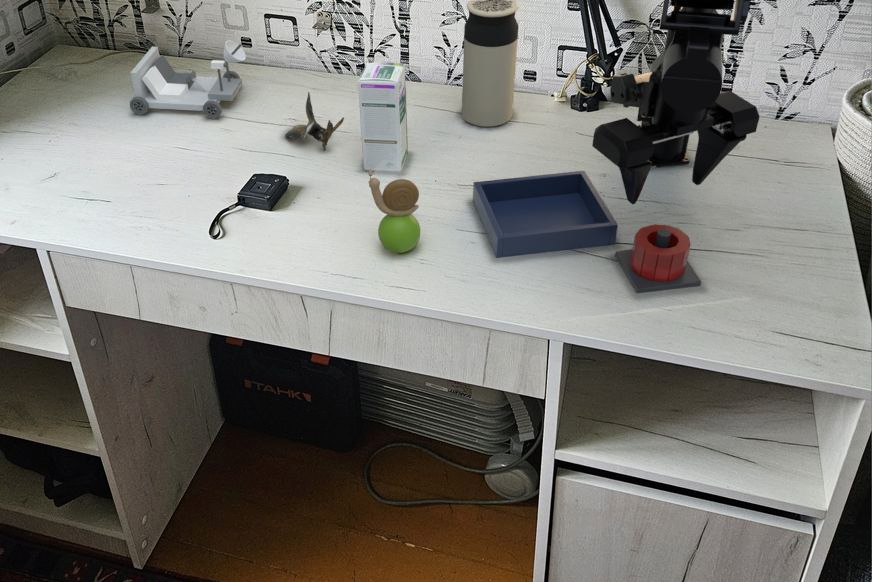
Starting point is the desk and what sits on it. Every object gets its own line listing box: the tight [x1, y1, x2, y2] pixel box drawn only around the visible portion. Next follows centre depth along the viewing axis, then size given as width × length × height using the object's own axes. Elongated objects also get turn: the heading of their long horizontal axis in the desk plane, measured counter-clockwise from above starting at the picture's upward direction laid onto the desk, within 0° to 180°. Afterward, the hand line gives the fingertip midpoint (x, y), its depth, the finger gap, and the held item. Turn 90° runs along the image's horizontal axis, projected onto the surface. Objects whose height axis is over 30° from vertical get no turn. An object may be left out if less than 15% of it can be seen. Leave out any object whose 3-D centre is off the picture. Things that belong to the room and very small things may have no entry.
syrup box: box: [357, 61, 409, 173], centre depth 134 cm, size 6×6×14 cm
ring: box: [631, 224, 692, 282], centre depth 115 cm, size 7×7×4 cm
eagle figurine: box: [284, 91, 345, 152], centre depth 143 cm, size 8×7×9 cm
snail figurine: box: [367, 169, 421, 254], centre depth 118 cm, size 5×6×12 cm
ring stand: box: [614, 229, 702, 294], centre depth 115 cm, size 8×8×6 cm
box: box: [472, 170, 619, 259], centre depth 125 cm, size 16×14×3 cm
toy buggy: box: [129, 39, 247, 120], centre depth 153 cm, size 18×10×12 cm
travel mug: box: [461, 0, 519, 128], centre depth 143 cm, size 8×8×18 cm
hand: (663, 192), depth 111 cm, fingers open, 9 cm apart
